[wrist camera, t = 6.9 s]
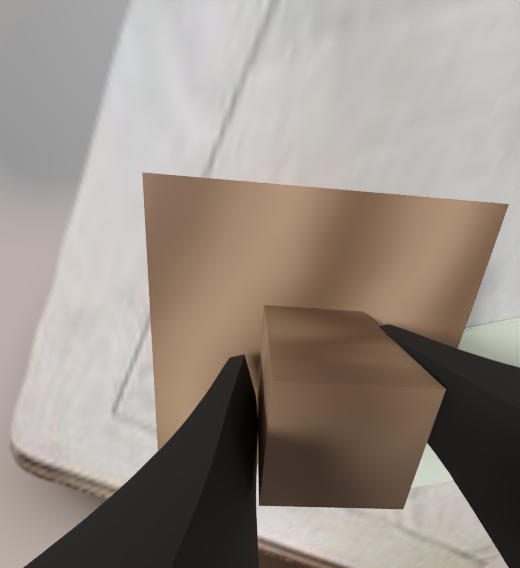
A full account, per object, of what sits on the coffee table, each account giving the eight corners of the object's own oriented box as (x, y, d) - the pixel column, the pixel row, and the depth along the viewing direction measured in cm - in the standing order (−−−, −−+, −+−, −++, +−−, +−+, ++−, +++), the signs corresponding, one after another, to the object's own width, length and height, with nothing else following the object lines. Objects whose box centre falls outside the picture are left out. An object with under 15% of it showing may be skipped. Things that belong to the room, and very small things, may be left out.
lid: (488, 204, 10) (751, 198, 5) (405, 454, 13) (498, 603, 8) (151, 175, 9) (20, 131, 4) (164, 445, 13) (105, 601, 8)
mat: (548, 311, 18) (556, 313, 17) (527, 459, 22) (533, 465, 22) (345, 353, 18) (347, 356, 18) (363, 490, 23) (366, 496, 22)
